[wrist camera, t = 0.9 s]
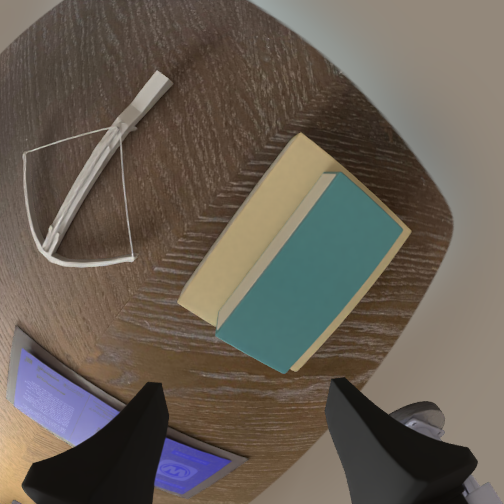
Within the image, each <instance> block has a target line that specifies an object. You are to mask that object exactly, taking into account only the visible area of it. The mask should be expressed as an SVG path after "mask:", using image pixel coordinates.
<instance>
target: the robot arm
mask: <svg viewBox="0 0 504 504" xmlns="http://www.w3.org/2000/svg"><path fill="white" fill-rule="evenodd" d="M325 415H326V420H327V424H328V428H329V431H330V434H331V437H332V439H333V442H334V445H335V447H336V450H337V452H338V455H339V458H340V460H341V463H342V465H343V468H344V471H345V474H346V478H347V483H348V486H349V491H350V496H351V501H352V504H503V503H502V501H501V500H500V498H499V497H498V495H497V493H496V492H495V490H494V489H493V487H492V486H491V484H490V483H489V482H487V483H485V484H484V485H482V486H481V487H480V485H479V484H478V483H477V481H476V479H475V478H474V477H473V476H472V475H471V474H472V472H473V471H474V470H475V468H476V466H477V463H478V461H477V459H476V458H475V456H474V455H473V454H472V452H471V451H470V449H469V448H468V447H463V446H458V445H454V444H449V443H445V442H443V441H442V440H441V439H440V437H442V436H443V435H444V433H445V432H444V430H442V429H439V428H437V427H434V426H432V425H429V424H427V423H425V422H422V421H420V420H418V419H415V418H412V419H410V420H409V421H408V422H407V423H405V424H402V423H400V422H399V421H397V420H396V419H394V418H393V417H391V416H390V415H388V414H387V413H386V412H384V411H383V410H381V409H380V408H379V407H378V406H376V405H375V404H374V403H373V402H371V401H370V400H369V399H368V398H367V397H366V396H364V395H363V394H362V393H361V392H360V391H359V390H358V389H357V388H356V387H355V386H354V385H352V384H351V383H350V382H349V381H348V380H347V379H346V378H345V377H343V378H335V379H331V383H330V388H329V393H328V398H327V403H326V407H325ZM168 420H169V413H168V409H167V405H166V401H165V396H164V392H163V388H162V383H155V382H147V383H146V384H145V385H144V387H143V388H142V389H141V390H140V391H139V392H138V393H137V394H136V396H135V397H134V398H133V399H132V400H131V401H130V402H129V403H128V404H127V405H126V406H125V407H124V408H123V410H122V411H121V412H120V413H119V414H118V415H116V416H115V417H114V418H113V419H112V420H111V421H110V422H109V423H108V424H107V425H105V426H104V427H103V428H102V429H101V430H99V431H98V432H97V433H95V434H94V435H93V436H91V437H90V438H88V439H87V440H85V441H83V442H82V443H80V444H78V445H77V446H75V447H73V448H71V449H69V450H67V451H65V452H63V453H61V454H59V455H56V456H54V457H51V458H48V459H45V460H42V461H39V462H36V463H33V464H32V466H31V467H30V469H29V471H28V473H27V475H26V477H25V479H24V481H23V483H22V488H23V490H24V492H25V493H26V494H27V495H28V496H29V497H30V498H31V499H32V500H33V501H34V502H35V503H36V504H152V502H153V492H154V483H155V478H156V473H157V469H158V465H159V461H160V458H161V454H162V450H163V446H164V442H165V439H166V435H167V428H168ZM12 504H21V503H20V502H18V501H16V500H13V501H12Z"/></svg>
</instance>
